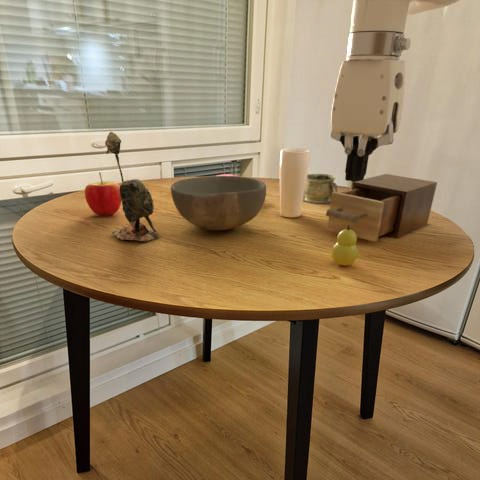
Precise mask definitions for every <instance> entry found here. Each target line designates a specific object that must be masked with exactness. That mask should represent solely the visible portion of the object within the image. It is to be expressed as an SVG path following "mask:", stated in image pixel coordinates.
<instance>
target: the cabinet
mask: <svg viewBox="0 0 480 480" xmlns="http://www.w3.org/2000/svg"><path fill="white" fill-rule="evenodd" d="M437 185H438V182H437V181H432V180H426V179H419V178H414V177H407V176H402V175H395V174H389V173H383V174H381V175H376V176H371V177H367V178H364V179H363V180H361V181H356V182H352V183H351V190H352V189H356V188H360V187H362V188H367V189H373V190H378V191H383V192H388V193H394V194H399V195H402V200H401V205H400V210H399V215H398V220H397V224H396V229H395V230H393V231H391V232H389V233H386V234H384V235H385V236H390V237H393V238H397V239H398V238H400V237H402V236H404V235H407V234H408V233H411V232H414V231H415V230H418V229H420V228H423V227H425V226H427V225H428V223H429V218H430V214H431V210H432V207H433V202H434V199H435V198H434V197H435V192H436V190H437Z"/></svg>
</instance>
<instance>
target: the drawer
mask: <svg viewBox="0 0 480 480" xmlns="http://www.w3.org/2000/svg"><path fill="white" fill-rule="evenodd" d="M401 200H402V195H399V194H394V193H388V192H383V191H378V190H373V189H367V188H362V187H360V188H356V189H352V188H351V189H349V190H344V191H341V192H338V191H337V192H335V191H334V192H332V195H331V201H330V205H329V208H328V209H327V210H326V213H325V216H326V217H328V221H327V230H329V231H333V232H337V233H340V232H341V231H342V230H344V229H347V226H348V225H350V230H353V231H354V232H355V233H356V236H357V239H358V238H359V239H362V240H366V241H369V242H373V243H375V242H377V241H378V240H379V237H382V236H384V235H385V234H386V233H389V232H391V231H393V230H395V229H396V224H397V220H398V215H399V210H400V205H401Z"/></svg>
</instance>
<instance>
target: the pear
mask: <svg viewBox="0 0 480 480" xmlns="http://www.w3.org/2000/svg"><path fill="white" fill-rule="evenodd" d="M357 241H358V237H357V236H356V233H355V232H354V231H353V230H350V225H348V226H347V229H344V230H342V231H341V232H338V234H337V236H336V243H334V244H333V246H332V249H331V258H332V260H333V261H334V262H335V264H337V265H340V266H342V267H343V266H344V267H345V266H350V265H351V264H354V263H355V261H356V260H357V259H358V256H359V248H358V245H357Z"/></svg>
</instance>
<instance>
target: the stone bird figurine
mask: <svg viewBox="0 0 480 480" xmlns="http://www.w3.org/2000/svg"><path fill="white" fill-rule="evenodd" d="M104 142H105V144H104V145H105V147H106V148H107V150H106V155H108V154H109V153H112V154H114V155H115V156H114V157H115V160H116V162H117V166H118V169H119V174H120V178H121V182H122V183H120V185H119V190H120V196H121V205H122V211H123V212H124V217H125V218H126V220H127V221H128V223H125V224H124V225H121V228H120V229H118V230H115V231H112V232H111V234H112V235H113V236H114V237H117V238H118V239H120V240H121V241H123V240H128V241H140V242H150V240H151V241H152V240H156V239H157V238H158V237H159V232H158V230H157V229H156V228H155V227H154V225H153V223H152V221H151V218H150V216H151V215H153V213H154V209H155V205H154V199H153V198H152V194H151V192H150V191H149V189H148V187H147V186H146V185H145V184H144V182H142V181H141V180H140V179H138V178H133V179H127V180H124V176H123V172H122V168H121V164H120V157H119V154H120V152H121V145H122V139H121V138H120V137H119V136H118V135H117V134H116V133H115V132H114V131H110V132H109V133H108V135H107V137H106V140H105V141H104ZM142 218H144V219H145V220H146V222H147V223H148V226H150V229H148V228H147V226H146V225H145V224H144V223H142V222H141V219H142Z"/></svg>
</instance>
